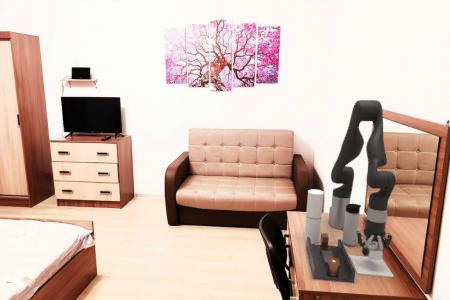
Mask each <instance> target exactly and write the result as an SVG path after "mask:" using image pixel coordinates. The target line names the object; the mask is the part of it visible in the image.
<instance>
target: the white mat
mask: <svg viewBox="0 0 450 300" xmlns="http://www.w3.org/2000/svg"><path fill="white" fill-rule="evenodd" d="M348 256H349V258H350V261H351V263H352V265H353V267H354V269H355V273H356V274H357V275H359V276H371V277H379V278H380V277H382V278H394V277H395V276H394V274H393V273H392V271H391V270H390V268H389V267H388V265H387V263H386V262H385V260H384V259H383V258H382V261H381V260H369V259H368V257H367V256H364V255H363V256H362V255H361V256H360V255H348Z"/></svg>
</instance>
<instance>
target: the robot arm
mask: <svg viewBox="0 0 450 300" xmlns="http://www.w3.org/2000/svg"><path fill="white" fill-rule="evenodd" d="M383 112H384V111H383V107H382V103H381V102H380V101H379V100H376V99H369V100H368V99H366V100H365V99H362V100H361V99H359V100H356V102H355V103H354V105H353V107H352V110H351V115H350V119H349V123H348V127H347V130H346V132H345V135H344V138H343V141H342V143H341V146H340V147H341V148H340V151H339V153H338V156H337V158H336V160H335V162H334V164H333V167H332V169H331V173H330V179H331V182H332V183H333V184H338V185H339V184H340V185H341V186H338V187H336V188H333V190H332V196H331V204H330V205H331V206H330V207H329V211H328V220H327V221H328V222H327V223H328V225H329V226H330V227H331V228H334V229H338V230H344V220H345V212H346V205H347V204H351V198H352V197H351V196H352V193H353V185H354V179H355V171H354V170H355V169H354V168H353V167H352V166H347V165H349V164H350V163H351V162H352V161H354V160H355V159H357V158H359V156H360V154H361V152H362V150H363V148H364V145H365V140H364V139H365V138H364V137H363V134H362V133H361V130H360V124H361V123H362V122H372V125H373V127H372V128H373V129H372V132H371V134H370V135H369V138H368V140H367V142H366V147H365V151H366V157H367V172H366V184H367V185H368V187H369V188H371V189H373V190H374V189H377V190H378V189H379V190H378V191H375V192H371V193H370V194H369V198H368V205H367V210H366V216H365V225H364V230H363V231H362V230H361V231H359V230H358V231H357V242H358V243H357V244H358V246H359V247H361V248H362V249H361V253H362V255H363V256H364V257H367V255H366V254H367V246H368V244H370V242H373V241H375V242H377V244H378V245H379V247H380V248H381V250H382V251H383V250H384V249H389V246H390V245H391V242H392V239H393V236H392V234H391V233H390V232H388V233H387V232H385V231H386V226H387V225H386V224H387V220H388V206H389V205H388V204H389V199H390V197H391V195H392V193H393V190H394V189H395V186H396V182H397V179H396V178H397V177H396V175H395V174H394V172H392V171H387V170H378V168H381V167H384V166H386V165H388V159H387V154H386V149H385V142H384V116H383V115H384V113H383ZM363 236H365V237H364V239H362V238H363ZM382 239H384V240H383V242H382ZM363 241H364V242H363Z"/></svg>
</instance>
